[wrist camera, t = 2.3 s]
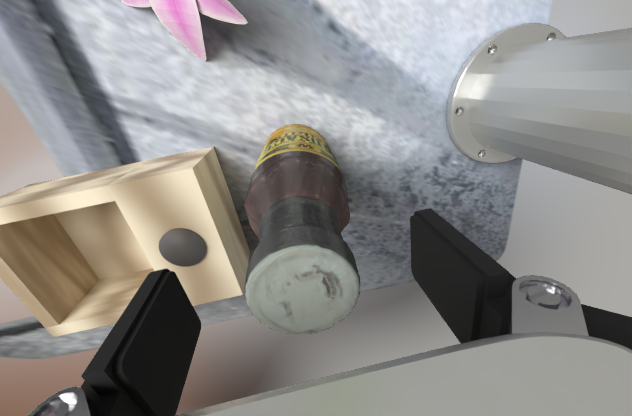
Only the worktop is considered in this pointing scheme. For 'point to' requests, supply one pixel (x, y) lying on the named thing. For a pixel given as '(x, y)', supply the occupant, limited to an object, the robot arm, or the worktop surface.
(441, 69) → the worktop surface
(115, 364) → the robot arm
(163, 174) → the caddy
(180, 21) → the lily
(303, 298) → the sauce bottle
